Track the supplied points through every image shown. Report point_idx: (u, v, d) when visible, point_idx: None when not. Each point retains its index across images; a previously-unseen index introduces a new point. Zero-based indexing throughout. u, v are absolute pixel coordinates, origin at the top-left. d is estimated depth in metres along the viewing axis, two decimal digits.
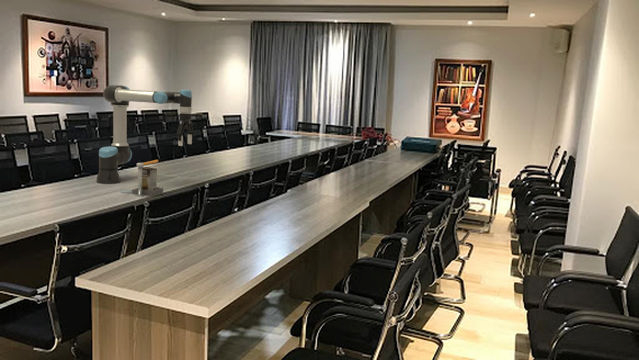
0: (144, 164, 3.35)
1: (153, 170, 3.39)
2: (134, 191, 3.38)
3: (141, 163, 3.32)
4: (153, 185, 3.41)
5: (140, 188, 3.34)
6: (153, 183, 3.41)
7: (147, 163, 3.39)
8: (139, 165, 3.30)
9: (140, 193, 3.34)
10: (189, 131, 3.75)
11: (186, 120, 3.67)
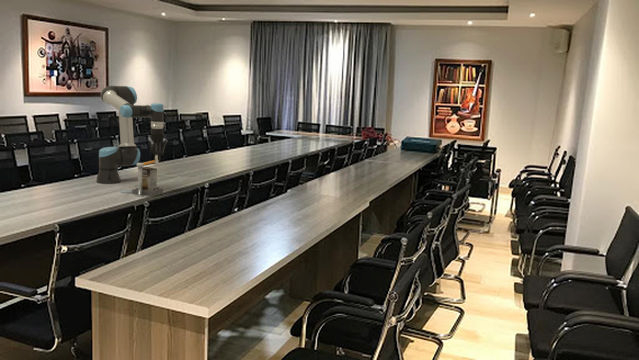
0: (144, 164, 3.36)
1: (153, 170, 3.39)
2: (134, 191, 3.38)
3: (141, 163, 3.32)
4: (153, 185, 3.41)
5: (140, 188, 3.34)
6: (153, 183, 3.41)
7: (147, 163, 3.39)
8: (139, 165, 3.30)
9: (140, 193, 3.34)
10: None
11: (155, 135, 3.45)
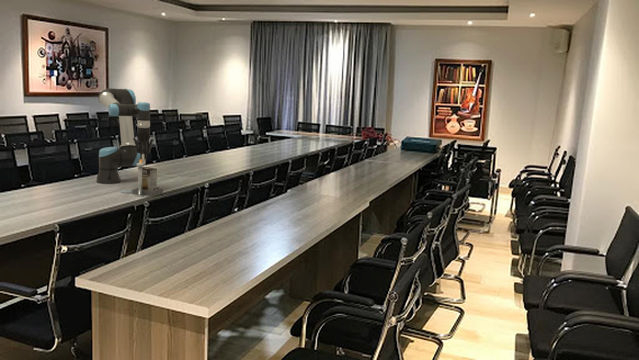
0: None
1: (153, 170, 3.39)
2: (134, 191, 3.38)
3: (141, 163, 3.32)
4: (153, 185, 3.41)
5: (140, 188, 3.34)
6: (153, 183, 3.41)
7: (141, 163, 3.39)
8: (141, 165, 3.31)
9: (140, 193, 3.34)
10: None
11: (141, 134, 3.45)
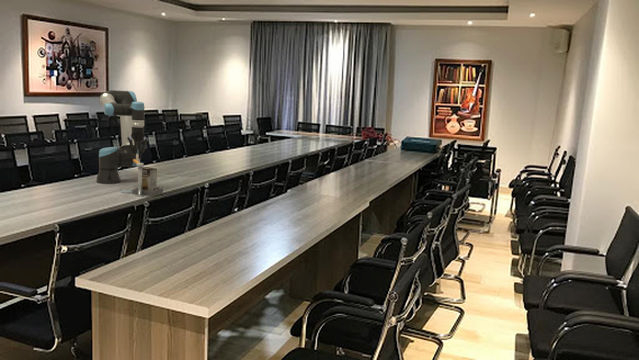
0: None
1: (153, 170, 3.39)
2: (134, 191, 3.38)
3: (141, 163, 3.32)
4: (153, 185, 3.41)
5: (140, 188, 3.34)
6: (153, 183, 3.41)
7: (139, 163, 3.39)
8: (141, 165, 3.31)
9: (140, 193, 3.34)
10: None
11: (136, 134, 3.45)
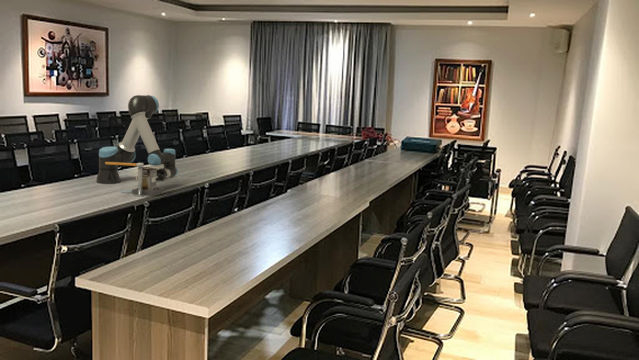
0: None
1: (153, 170, 3.39)
2: (134, 191, 3.38)
3: (140, 163, 3.33)
4: (153, 185, 3.41)
5: (140, 188, 3.34)
6: (153, 183, 3.41)
7: None
8: (143, 165, 3.33)
9: (140, 193, 3.34)
10: None
11: None
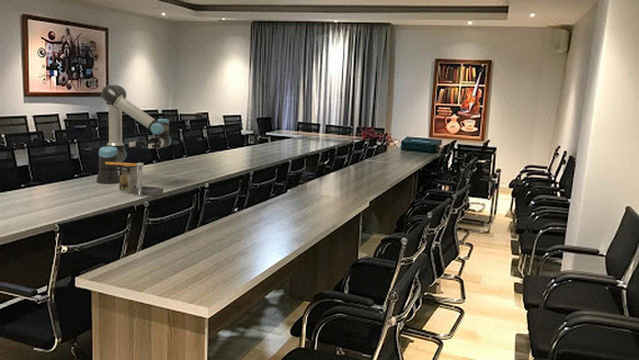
0: None
1: (133, 168, 3.40)
2: (134, 191, 3.38)
3: (140, 163, 3.33)
4: (133, 182, 3.42)
5: (140, 188, 3.34)
6: (134, 180, 3.42)
7: None
8: (143, 165, 3.33)
9: (140, 193, 3.34)
10: (138, 144, 3.62)
11: None
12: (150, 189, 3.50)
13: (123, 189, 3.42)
